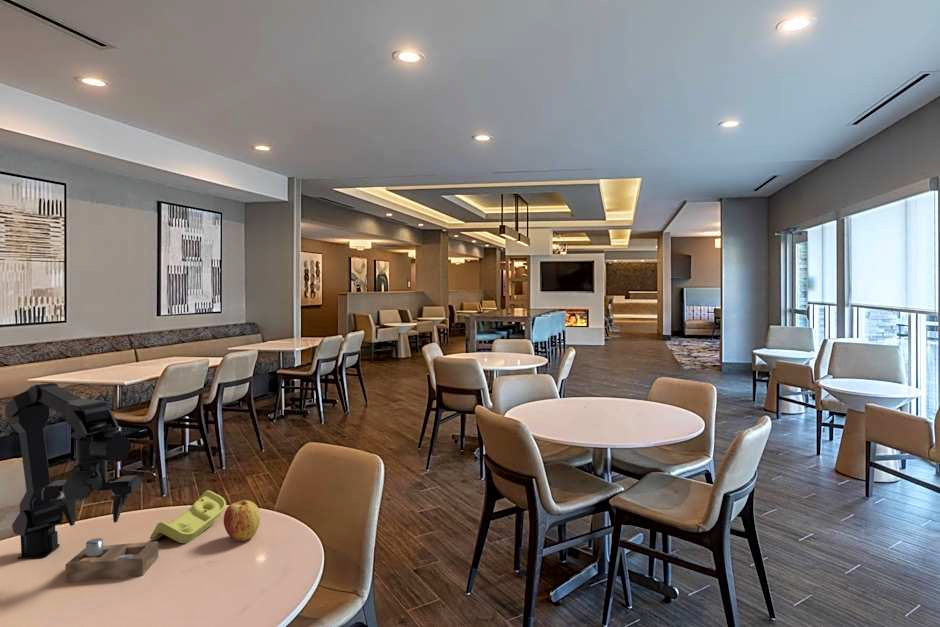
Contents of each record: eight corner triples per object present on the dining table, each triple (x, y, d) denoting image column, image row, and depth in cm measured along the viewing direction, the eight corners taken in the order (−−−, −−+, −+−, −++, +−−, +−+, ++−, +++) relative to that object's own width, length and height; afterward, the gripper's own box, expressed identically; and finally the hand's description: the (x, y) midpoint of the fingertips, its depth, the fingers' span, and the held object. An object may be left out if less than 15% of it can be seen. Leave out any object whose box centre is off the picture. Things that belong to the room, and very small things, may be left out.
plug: (84, 574, 129) (83, 544, 128) (91, 568, 132) (90, 538, 131) (99, 573, 129) (98, 543, 129) (106, 567, 132) (105, 537, 132)
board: (65, 582, 125) (65, 563, 125) (86, 563, 134) (86, 545, 134) (142, 575, 128) (142, 556, 128) (158, 557, 137) (157, 540, 137)
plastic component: (188, 536, 143) (155, 518, 144) (179, 560, 144) (146, 542, 145) (233, 502, 163) (203, 487, 164) (224, 523, 164) (195, 508, 165)
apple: (228, 533, 150) (226, 496, 150) (263, 529, 152) (262, 493, 152) (221, 547, 141) (220, 508, 141) (259, 543, 143) (257, 505, 143)
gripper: (24, 470, 120) (28, 542, 121) (119, 464, 123) (121, 534, 123) (54, 456, 131) (57, 521, 132) (140, 450, 134) (143, 515, 134)
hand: (94, 523), depth 130 cm, fingers open, 9 cm apart
